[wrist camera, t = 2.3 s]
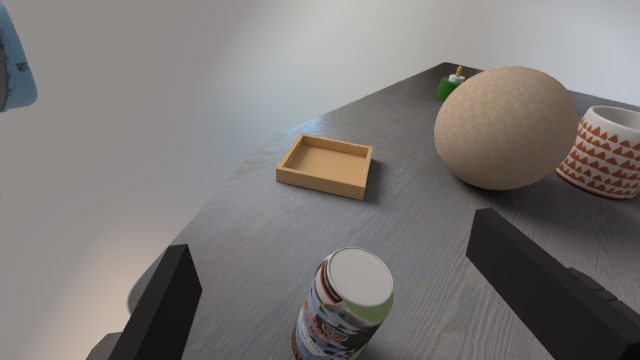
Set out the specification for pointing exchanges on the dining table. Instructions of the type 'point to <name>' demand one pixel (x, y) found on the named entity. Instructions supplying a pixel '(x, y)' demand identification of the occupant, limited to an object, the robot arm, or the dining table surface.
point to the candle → (449, 84)
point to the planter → (605, 153)
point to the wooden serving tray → (326, 166)
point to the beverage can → (343, 306)
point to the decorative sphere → (506, 128)
